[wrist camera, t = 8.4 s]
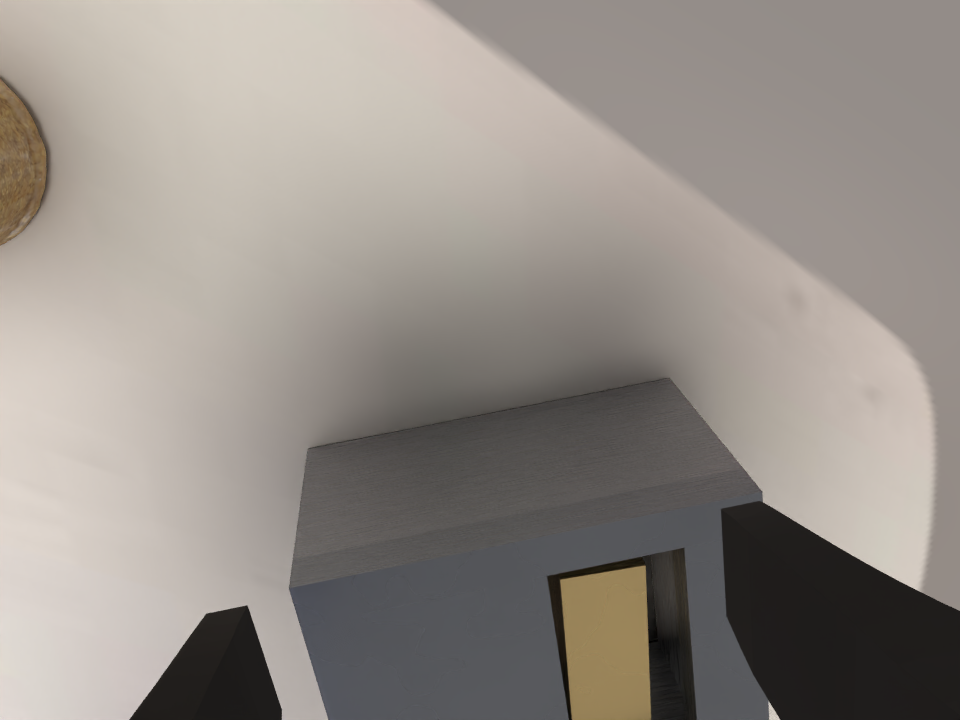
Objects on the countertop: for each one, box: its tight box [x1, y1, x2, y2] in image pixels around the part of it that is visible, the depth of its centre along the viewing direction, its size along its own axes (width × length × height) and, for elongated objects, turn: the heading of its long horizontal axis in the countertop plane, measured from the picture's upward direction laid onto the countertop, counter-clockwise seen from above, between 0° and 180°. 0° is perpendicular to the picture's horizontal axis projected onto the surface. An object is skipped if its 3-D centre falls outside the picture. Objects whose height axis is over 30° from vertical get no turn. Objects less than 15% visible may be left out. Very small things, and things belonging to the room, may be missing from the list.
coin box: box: [289, 378, 769, 720], centre depth 22 cm, size 10×10×6 cm
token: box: [547, 557, 651, 720], centre depth 23 cm, size 5×2×5 cm, turn 6°
